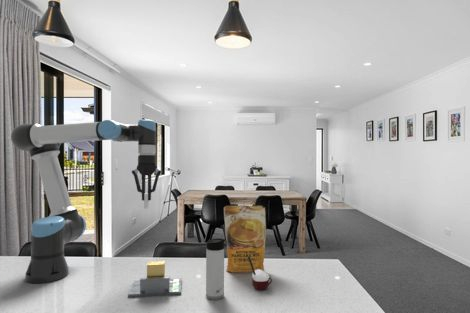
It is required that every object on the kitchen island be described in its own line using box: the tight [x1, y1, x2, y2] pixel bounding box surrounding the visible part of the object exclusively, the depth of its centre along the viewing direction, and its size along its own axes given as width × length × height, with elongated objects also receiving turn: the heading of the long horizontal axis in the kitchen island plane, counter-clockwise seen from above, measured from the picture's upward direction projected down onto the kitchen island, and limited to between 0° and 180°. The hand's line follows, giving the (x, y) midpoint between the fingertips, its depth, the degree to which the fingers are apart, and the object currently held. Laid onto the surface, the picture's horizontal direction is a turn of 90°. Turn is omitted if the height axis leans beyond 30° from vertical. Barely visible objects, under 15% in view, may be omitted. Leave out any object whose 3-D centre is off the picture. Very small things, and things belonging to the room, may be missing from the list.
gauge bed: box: [127, 276, 183, 298], centre depth 118 cm, size 18×13×6 cm
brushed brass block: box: [146, 260, 177, 284], centre depth 116 cm, size 10×4×9 cm, turn 98°
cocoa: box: [248, 256, 273, 291], centre depth 119 cm, size 10×6×12 cm, turn 86°
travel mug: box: [205, 237, 226, 301], centre depth 112 cm, size 6×7×20 cm
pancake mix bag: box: [223, 204, 267, 274], centre depth 139 cm, size 7×19×28 cm, turn 95°
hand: (146, 207), depth 141 cm, fingers closed
